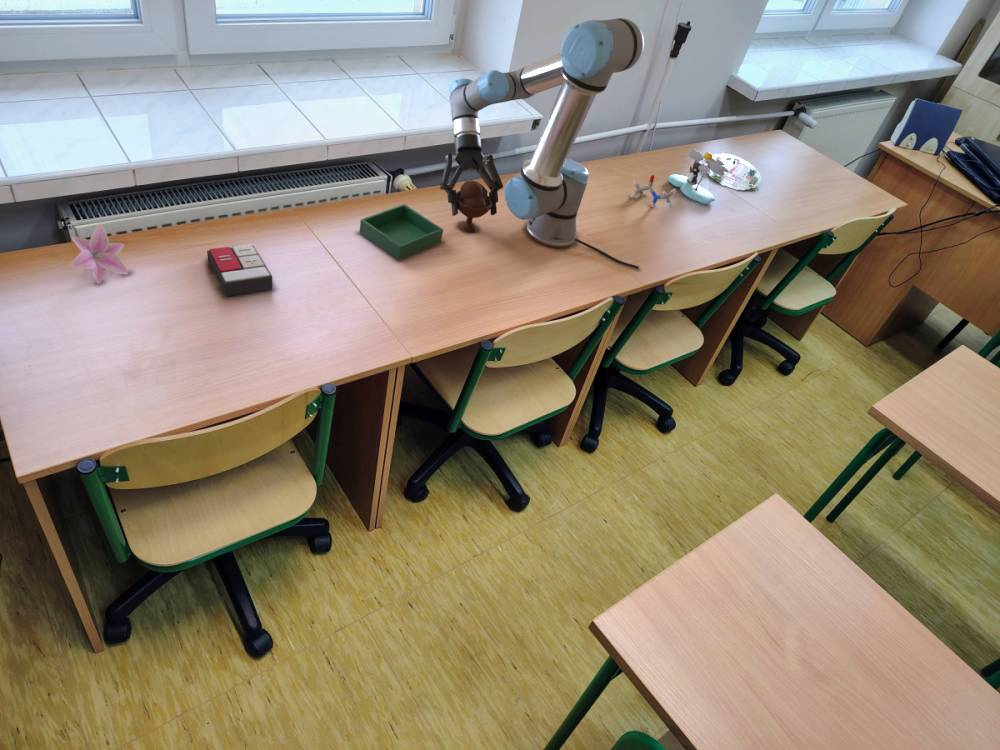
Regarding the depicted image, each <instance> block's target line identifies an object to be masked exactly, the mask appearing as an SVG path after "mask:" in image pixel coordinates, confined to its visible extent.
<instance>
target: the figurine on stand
mask: <svg viewBox="0 0 1000 750" xmlns="http://www.w3.org/2000/svg"><path fill="white" fill-rule="evenodd" d="M712 155H713V154H712V153H711V152H709V151H708V152H705V153H704V155H703V154H702V153H701V152H700V151H699V150H697V149H695V148H691V149H690V152H689V153H688V156H689V158H691V159H692V160H694V162H693V163H692V166H689V174H688V177H687V176H686V175H681V174H677V173H676V174H675V173H674V174H669V176H668V177H667V181H668V183H670V184H671V185H673V186H674V187H676V188H679V189H680V191H681V193H682V194H683V195H685V197H687V198H688V199H690V200H692V201H695V202H697V203H700V204H702V205H709V204H711V203H712V202H715V201H716V198H715V196H714V195H713V194H712V193H711V192H710V191H709V190H707V189H706V188H704V187H703V184H701V183H702V181H703V179H706V175H707V174H709V173H708V172H709V171H710V169H711V170H712V171H713V172H716V173H717V174H719V175H720V176H723V175H724V172H728V169H727V168H726V167H725V166H724V163H723V162H722V161H721V160H720V159H714V158H712ZM704 163H706V164H708V165H709V168H710V169H709V168H708V167H707V165H706V166H705V164H704ZM680 168H681V169H683V168H684V167H683V166H681V167H680ZM723 171H724V172H723ZM699 176H701V178H700V179H699V181H698V177H699Z"/></svg>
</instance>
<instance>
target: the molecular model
mask: <svg viewBox="0 0 1000 750" xmlns="http://www.w3.org/2000/svg"><path fill="white" fill-rule="evenodd" d="M654 180H655V175H654V174H652V175H650V178H649V182H648V185H646V186H640V184H639V183H638V180H637V179H633V181H632V183H633V184H634V186H635V189H636V190H635V191H634V192H633V193H632V194H631V195H630V198H631V199H634V198H635V197H636V196H637V195H638V194H640V195H641V196H645V194H646V193H645V192H644V191H648V190H649V192H650V193H651V195H652V196H653V199H652V202H651V205H650V206H651V208H655V206H656V204H657V201H658V200H665V201H666V205H667V207H668V208H669V209H672V208H673V204H672V201H671V199H670V197H671V196H673V195H674V194H675V193H676V192H677V189H676V188H673V189H671V190H670V191H669V192H666V191H665V190H664V191H662V192H661V194H658V195H657V193H656V191H655V189H654V188H653V184H654Z"/></svg>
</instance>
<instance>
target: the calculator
mask: <svg viewBox="0 0 1000 750" xmlns="http://www.w3.org/2000/svg"><path fill="white" fill-rule="evenodd" d="M206 254H207V255H206V256H207V262H208V264H209V266H210V268H211V269H212V272H213V274H214V276H215V277H216V280H217V282H218V283H219V287H220V289H221V291H222V294H223V295H224V296H225V297H231V296H236V295H237V296H238V295H245V294H250V293H257V292H264V291H271V290H273V275H272V274H271V272H270V270H269V269H268V267H267V265H266V264H265V262H264V260H263V259H262V257H261V256H260V253H259V252H258V251H257V249H256V247H255V245H254V244H252V243H249V244H240V245H233V246H231V247H230V246H224V247H215V248H210V249H209V250H207V251H206Z"/></svg>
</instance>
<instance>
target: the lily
mask: <svg viewBox="0 0 1000 750" xmlns="http://www.w3.org/2000/svg"><path fill="white" fill-rule="evenodd" d="M71 239H72V241H73V243H74V244H75V245H76V247H77V248H78V249H79V250H80V252H79V254H78V255H77V256H76V257H75V258H74V259H73V260H72V261H71V263H70V264H69V268H71V269H72V270H73V269H74V270H91V272H92V275H93V278H94V279H95V281H96V283H97V284H101V282H102V281H103V280H104V277H105V275H106V272H111V273H115V274H121V275H128V274H129V271H128V269H127V267H126V265H125V264H124V263H123V261H122V260H121V259H120V258H119V257H118V256H117V255H118V254H119V253H120V252H122V250H123V249H124V247H125V244H124V243H121V242H110V240H109V237H108V234H107V231H106V229H105V227H104V226H103V224H102V223H101V222H100V223H97V225H96V226H95V229H94V230H93V232H92V234H91V237H90V239H86V238H84V237H80V236H74V235H72V236H71Z"/></svg>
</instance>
